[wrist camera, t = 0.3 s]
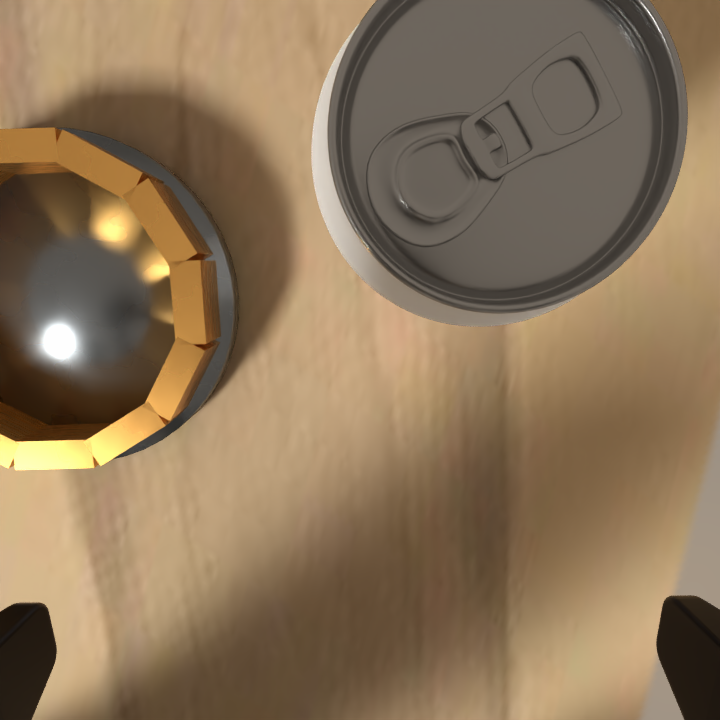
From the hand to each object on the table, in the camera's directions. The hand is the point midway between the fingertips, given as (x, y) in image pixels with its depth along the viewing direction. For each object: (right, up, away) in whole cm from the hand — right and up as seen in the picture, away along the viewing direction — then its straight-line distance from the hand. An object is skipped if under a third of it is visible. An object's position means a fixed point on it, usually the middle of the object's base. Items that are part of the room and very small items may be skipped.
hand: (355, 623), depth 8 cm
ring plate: (-11, +6, +13) cm, 18 cm away
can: (+2, +9, +13) cm, 16 cm away
